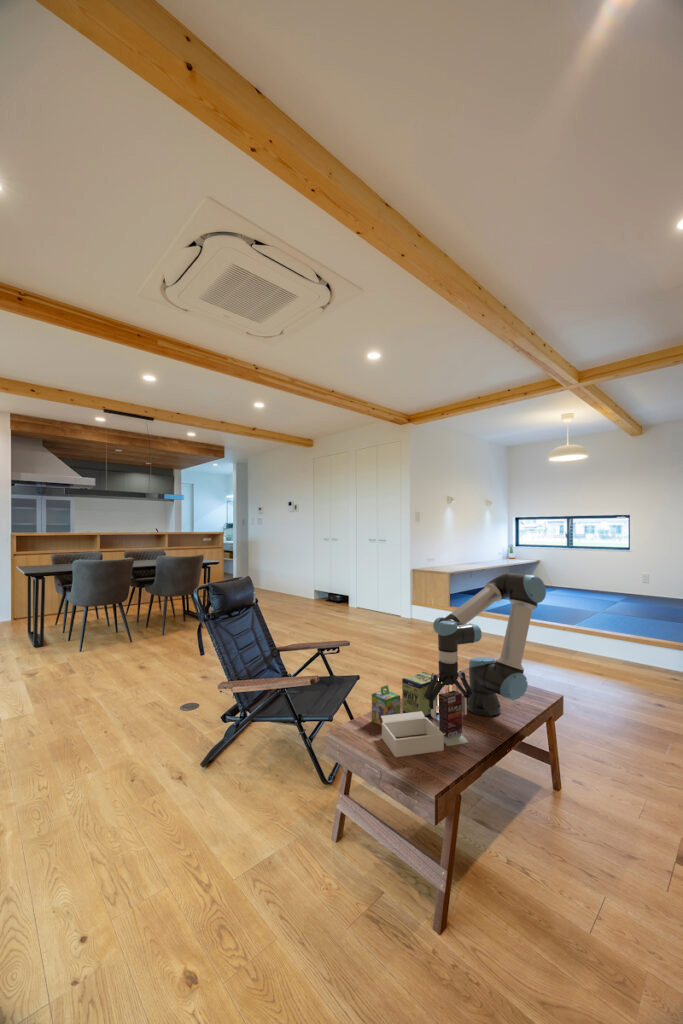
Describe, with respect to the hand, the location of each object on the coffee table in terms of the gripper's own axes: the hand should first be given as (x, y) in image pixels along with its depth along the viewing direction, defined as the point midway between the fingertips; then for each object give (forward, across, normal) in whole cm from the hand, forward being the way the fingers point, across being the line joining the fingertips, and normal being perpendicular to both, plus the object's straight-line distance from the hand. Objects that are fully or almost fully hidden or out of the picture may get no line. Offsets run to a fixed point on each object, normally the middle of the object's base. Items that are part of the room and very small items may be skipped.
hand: (448, 715), depth 160 cm
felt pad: (+8, 0, 0) cm, 8 cm away
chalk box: (+8, +20, -18) cm, 28 cm away
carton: (+8, +17, +2) cm, 19 cm away
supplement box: (+8, -1, 0) cm, 8 cm away
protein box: (+8, +1, -23) cm, 24 cm away
